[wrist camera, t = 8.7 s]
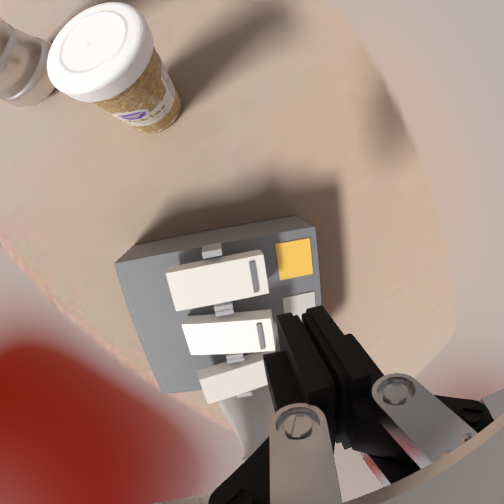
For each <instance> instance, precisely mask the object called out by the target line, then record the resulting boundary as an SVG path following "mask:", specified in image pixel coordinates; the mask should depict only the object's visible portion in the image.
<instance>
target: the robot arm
mask: <svg viewBox="0 0 504 504" xmlns="http://www.w3.org/2000/svg"><path fill="white" fill-rule="evenodd" d="M276 323H277V331H278V338H279V346H280V351H279V352H274V353H269V354H264V355H263V361H264V367H265V372H266V378H267V382H268V387H269V391H270V395H271V399H272V403H273V407H274V411H275V413H274V415H273V416H272V418H271V419H270V424H269V437H268V438H267V439H266V440H265V441H264V442H263V443H262V444H261V445H260V446H259V447H258V448H257V449H256V451H255V452H254V453H253V454H252V455H251V456H250V457H249V458H248V459H247V460H246V461H245V462H244V463H243V464H242V465H241V466H240V467H239V468H238V469H237V470H236V471H235V472H234V473H233V474H232V475H231V476H230V477H229V478H227V479H226V480H225V481H224V482H223V483H222V484H221V485H220V486H219V487H218V488H216V490H215V491H214V492H213V493H212V494H210V495H206V496H202V497H198V495H195V496H191V497H186V498H181V499H176V500H171V501H165V502H160V503H153V504H504V389H502V390H500V391H497V392H495V393H493V394H491V395H488V396H486V397H484V398H482V399H481V401H480V402H479V401H475V400H468V399H460V398H451V397H445V396H438V395H433V394H432V393H430V392H429V391H428V390H427V389H426V388H425V387H424V386H422V385H421V384H420V383H419V382H418V381H417V380H415V379H414V378H412V377H411V376H409V375H405V374H399V373H394V374H388V375H385V376H384V375H383V373H382V372H381V371H380V369H379V368H378V367H377V366H376V364H375V363H374V362H373V360H372V359H371V358H370V356H369V355H368V354H367V353H366V351H365V350H364V349H363V347H362V346H361V345H360V343H359V342H358V341H357V340H356V338H355V337H354V336H353V335H352V334H347V335H344V334H343V333H342V331H341V330H340V329H339V327H338V326H337V325H336V323H335V322H334V321H333V319H332V318H331V317H330V315H329V314H328V313H327V311H326V310H325V309H324V307H323V306H322V305H320V306H316V307H312V308H307V309H306V313H303V314H302V321H301V319H300V318H299V316H298V315H294V316H293V314H292V313H291V312H289V313H285V314H280V315H276ZM335 442H336V443H340V442H342V445H343V447H344V449H348V448H351V447H352V449H353V450H355V451H359V452H360V453H361V456H362V458H363V460H364V461H365V462H366V464H367V465H368V466H369V468H370V469H371V470H372V472H373V473H374V474H375V475H376V477H377V478H378V479H379V481H380V482H381V484H382V485H383V486H384V488H381V489H379V490H377V491H374V492H372V493H369V494H366V495H364V496H361V497H358V498H356V499H353V500H350V501H348V502H344V503H342V498H341V492H340V486H339V481H338V476H337V470H336V465H335V460H334V446H335Z"/></svg>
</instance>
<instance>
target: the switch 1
mask: <svg viewBox="0 0 504 504" xmlns="http://www.w3.org/2000/svg"><path fill="white" fill-rule="evenodd" d="M166 277H167V281H168V285H169V288H170V292H171V296H172V299H173V303H174V306H175V310H176V311H182V310H187V309H193V308H198V307H204V306H209V305H214V304H219V303H224V302H229V301H234V300H239V299H244V298H249V297H254V296H259V295H263V294H268V293H269V289H268V282H267V275H266V269H265V262H264V255H263V253H262V252H261V250H260V249H259V250H253V251H248V252H243V253H238V254H233V255H228V256H223V257H217V258H212V259H207V260H202V261H197V262H192V263H187V264H182V265H177V266H171V267H168V268H167V271H166Z"/></svg>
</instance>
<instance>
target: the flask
mask: <svg viewBox="0 0 504 504" xmlns="http://www.w3.org/2000/svg"><path fill="white" fill-rule="evenodd" d="M251 391H252V396H246V397H240V398H237V395H236V396H233V397H230V398H227V399H224V400H220V401H217V403H218V405H219V406H220V408H221V410H222V411H223V413H224V414H225V416H226V418H227V419H228V421H229V422H230V424H231V426H232V428H233V429H234V431H235V433H236V434H237V436H238V438H239V440H240V443H241V446H242V448H243V451H244V457H243V458H242V464H243V463H244V462H245V461H246V460H247V459H248V458H249V457H250V456H251V455H252V454H253V453H254V452H255V451H256V449H257V448H258V447H259V446H260V445H261V444H262V443H263V442H264V441H265V440H266V439H267V438H268V437H269V424H270V419H271V418H272V416H273V415H274V413H275V411H274V407H273V403H272V399H271V395H270V391H269V387H268V385H265V386H262V387H260V388H257V389H254V390H251Z"/></svg>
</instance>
